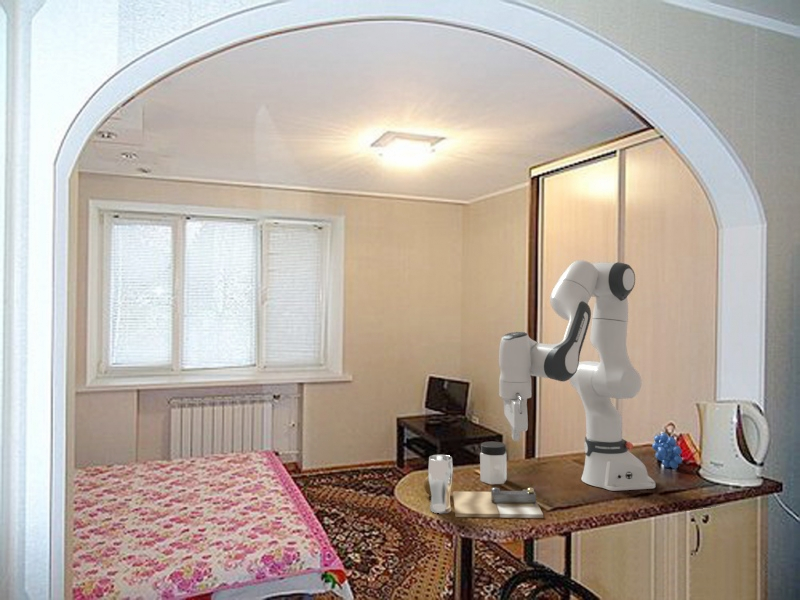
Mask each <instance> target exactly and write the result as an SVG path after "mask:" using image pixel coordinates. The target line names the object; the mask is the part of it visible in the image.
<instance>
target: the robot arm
mask: <svg viewBox="0 0 800 600" xmlns="http://www.w3.org/2000/svg"><path fill="white" fill-rule="evenodd" d="M635 284H636V274H635V271H634V269H633V268H632V267H631V265H629V264H627V263H625V262H619V261H618V262H610V261H609V262H605V261H601V262H600V261H599V262H593V263H591V262H589V261H587V260H584V259H583V260H581V259H579V260H575V261H573V262H572V263H571V264H570V265H568V266H567V268H566V269H564V271H563V273H562V274H561V275H560V277H559V278H558V279H557V281H556V283H555V284H554V287H553V289H552V291H551V293H550V296H549V303H550V305H551V308H552V310H553V311H554V312H555V314H557V315H558V316H559V317H560V318H561V319H564V320H565V321H568V324H567V326H566V329H565V332H564V336H563V337H562V340H561V341H559V342H557V343H543V342H537V341H536V340H534V339H532V338H531V337H530V336H529V333H527V332H523V331H514V332H508V333H506V334H504V335H503V336H502V337H501V339H500V344H499V349H498V350H499V351H498V352H499V353H498V355H499V356H498V365H499V369H500V374H499V378H498V380H499V382H498V385H499V386H498V389H499V391H498V392H499V394H498V395H499V397H500V398H502V404H503V405H502V406H503V412H504V417H505V418H506V419H507V421H508V423H509V425H510V431H511V438H512V440H513V441H514V442H520V441H521V432H527V431H528V427H529V420H528V417H529V416H528V403H527V402H528V399H531V398H532V377H538V378H544V379H551V380H555V381H558V382H567V381H568V380H569V382H570V384H571V386H572V387H573V389H575V391H576V393H578V395H579V397H580V400H581V402H582V405H583V408H584V412H585V413H584V415H585V428H586V429H585V432H586V434H585V435H586V436H585V438H584V454H585V459H584V465H583V472H582V475H581V481H582V482H583V483H585V484H587V485H590V486H593V487H597V488H602V489H606V490H608V491H614V492H615V491H629V490H631V491H632V490H635V491H636V490H647V489H648V490H649V489H656V481H655V480H654V479H653V478H652V477H650V476H649V474H648V470H647V467H646V465H645V464H644V463H643V461H641V460H640V459H639V458H638V457H637V456H635V455H634V454H633V453H631V452H630V451H629V450H633V448H634V444H633V443H632V442H630V441H627V440H626V439H625V438H623V417H622V415H621V412H620V411H618V409H617V408H615V406H614V405H613V402H612V400H611V399H616V400H626V399H627V400H628V399H633V398H635V397H636V396H637V395H638V394H639V392H640V391H641V389H642V378H641V375H640V373H639V371H638V370H637V369H636V368H635V367H634V366H633V364H632V361H630V358H629V355H628V349H627V336H628V335H627V334H628V322H629V321H628V320H629V303H628V296H629V295H630V294H631V292H632V291H633V290H634V288H635ZM591 297H592V298H593V297H594V298H595V301H594V306H593V311H592V310H591V307H590V306H589V302H590V299H591ZM591 318H592V319H591ZM590 321H591V322H590ZM590 323H591V327H590V338H589V341H590V345H591V346H593V348H594V349H595V350H596V351H597V353H598V356H599V361H596V360H595V361H594V360H583V361H580V355H581V351H582V349H583V345H584V342H585V339H586V335H587V333H588V329H589V326H590Z"/></svg>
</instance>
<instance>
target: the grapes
mask: <svg viewBox="0 0 800 600" xmlns="http://www.w3.org/2000/svg"><path fill="white" fill-rule="evenodd" d="M653 438H654V439H653V441H654V442H653V443H652V445H651V446H652V449H653V450H654V451H655V459H657V461H661V464H662V465H663V467H664V468H666V469H667V468H671V469H674V470H675V469H678V467H679V465H681V464H682V463H683V458H682V457H681V454H682V451H683V450H682V449H681V447H680V446H679V445H677V441H676V439H675V437H673V436H668V434H667V433H665V432H662V433H660V434H659V435H658V434H655V436H654V437H653Z"/></svg>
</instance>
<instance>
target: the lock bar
mask: <svg viewBox="0 0 800 600" xmlns="http://www.w3.org/2000/svg"><path fill="white" fill-rule="evenodd" d="M490 488H491V491H490V492H491V501H492V502H494V503H536V501H537V494H536V491H535V488H533V487H527V489H528V491H523V490H500V487H497V486H494V487H490Z"/></svg>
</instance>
